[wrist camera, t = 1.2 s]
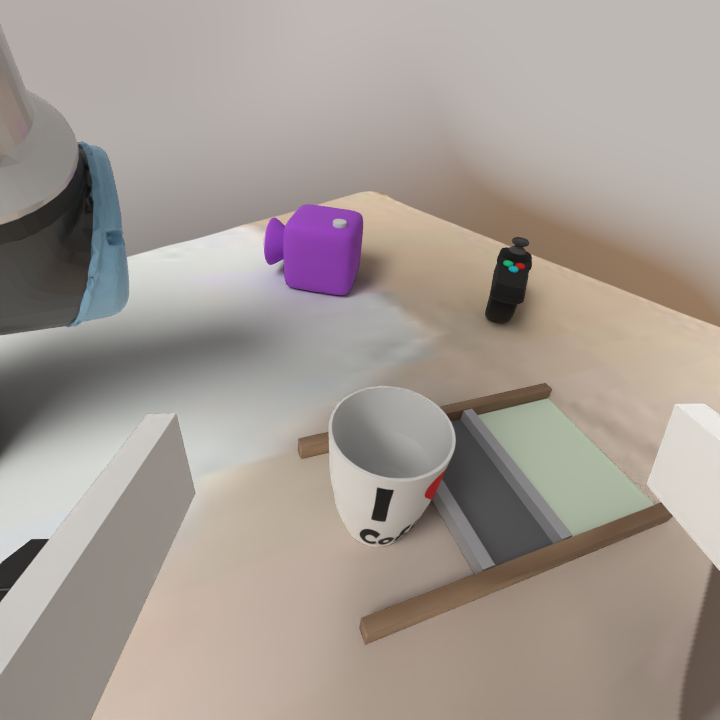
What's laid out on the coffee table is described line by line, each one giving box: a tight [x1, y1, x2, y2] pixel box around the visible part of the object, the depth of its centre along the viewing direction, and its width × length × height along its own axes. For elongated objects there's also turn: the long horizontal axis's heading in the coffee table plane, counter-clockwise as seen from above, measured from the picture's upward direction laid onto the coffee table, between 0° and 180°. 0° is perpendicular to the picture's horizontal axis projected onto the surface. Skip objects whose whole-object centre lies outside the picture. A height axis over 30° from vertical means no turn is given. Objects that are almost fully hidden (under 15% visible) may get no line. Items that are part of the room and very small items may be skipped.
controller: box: [485, 237, 532, 323], centre depth 56 cm, size 4×12×10 cm, turn 160°
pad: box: [478, 398, 655, 537], centre depth 40 cm, size 14×10×1 cm
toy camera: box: [263, 205, 363, 295], centre depth 60 cm, size 11×14×10 cm
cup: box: [329, 386, 456, 547], centre depth 31 cm, size 8×8×10 cm
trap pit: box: [432, 409, 572, 574], centre depth 36 cm, size 14×8×2 cm, turn 21°
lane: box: [298, 383, 673, 645], centre depth 37 cm, size 16×27×2 cm, turn 111°
